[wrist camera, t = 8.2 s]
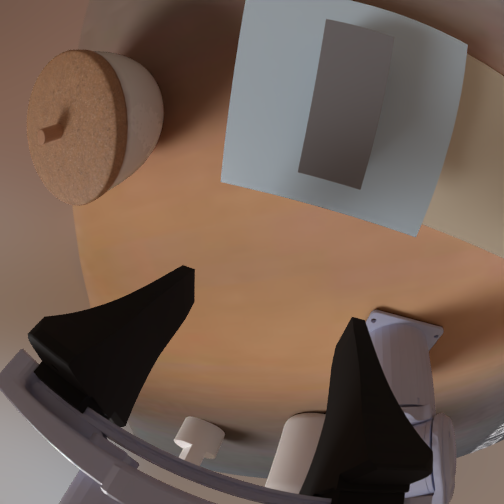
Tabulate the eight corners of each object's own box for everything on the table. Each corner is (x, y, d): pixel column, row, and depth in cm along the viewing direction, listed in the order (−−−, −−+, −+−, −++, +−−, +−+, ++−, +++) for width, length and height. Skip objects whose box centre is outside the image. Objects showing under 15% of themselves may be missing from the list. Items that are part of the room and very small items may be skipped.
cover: (413, 232, 13) (430, 274, 10) (224, 178, 15) (189, 205, 12) (463, 46, 7) (500, 34, 4) (251, -8, 9) (219, -37, 6)
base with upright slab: (191, 412, 46) (165, 461, 37) (231, 432, 46) (210, 481, 37) (181, 421, 52) (159, 463, 42) (217, 439, 52) (197, 481, 42)
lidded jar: (193, 44, 15) (96, 28, 8) (187, 178, 21) (105, 231, 14) (93, 62, 18) (7, 74, 10) (96, 167, 23) (21, 206, 16)
